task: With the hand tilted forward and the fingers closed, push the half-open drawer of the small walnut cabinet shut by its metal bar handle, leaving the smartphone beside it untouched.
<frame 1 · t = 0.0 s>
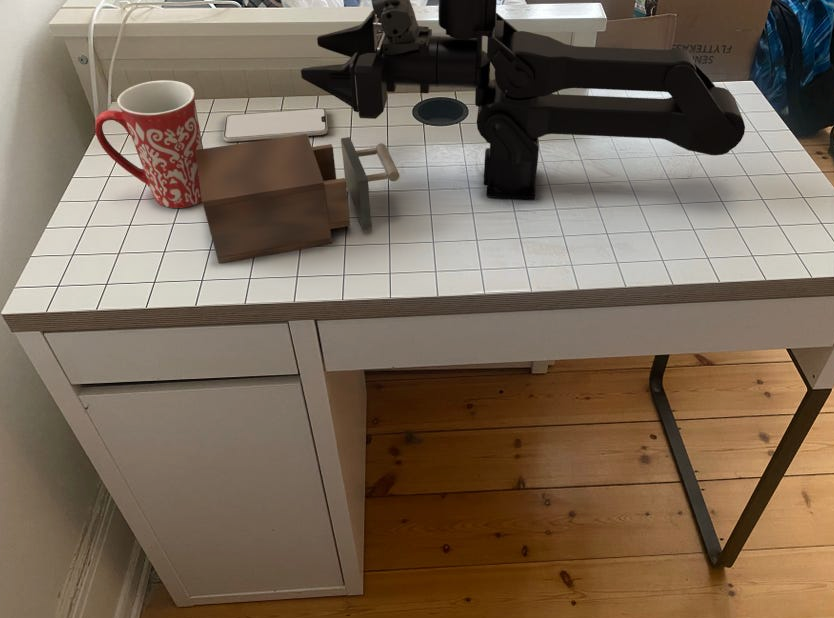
hand: (309, 56, 91), 17 cm above the table, tool horizontal, fingers open, 9 cm apart
smartphone: (276, 127, 112), on the table
drawer: (327, 186, 93), point 4 cm above the table, slide at 4.0 cm
mug: (170, 195, 99), on the table
cabinet: (269, 226, 94), on the table
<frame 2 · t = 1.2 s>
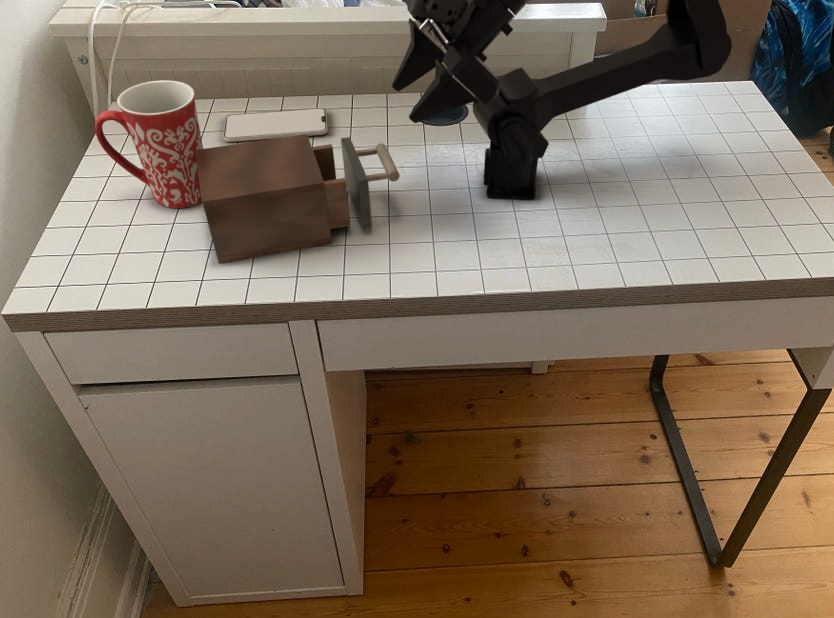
hand: (402, 104, 88), 14 cm above the table, tool tilted 45°, fingers open, 8 cm apart
nothing on the table moved.
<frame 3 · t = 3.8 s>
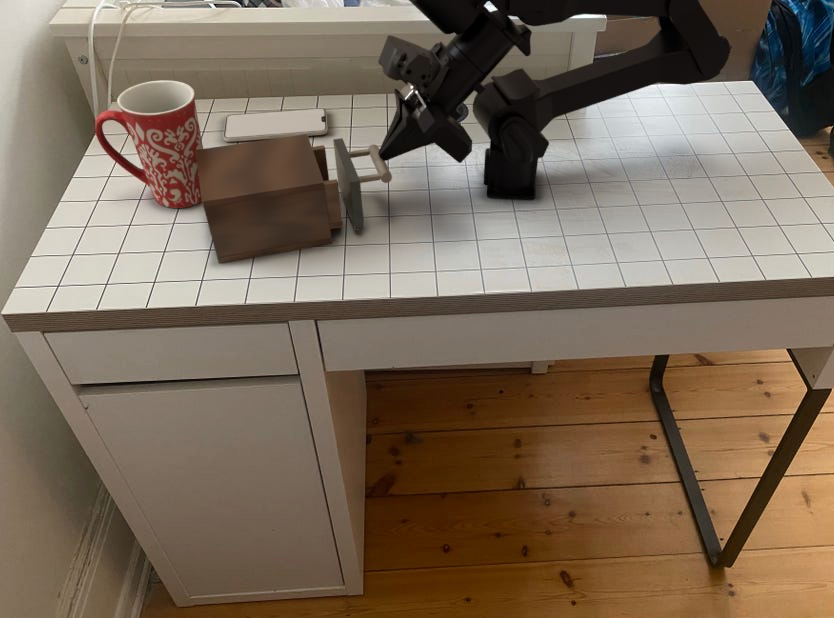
hand: (381, 157, 92), 7 cm above the table, tool tilted 45°, fingers closed, pressing on drawer
drawer: (320, 188, 93), point 4 cm above the table, slide at 3.0 cm, touching gripper
everything else where it was.
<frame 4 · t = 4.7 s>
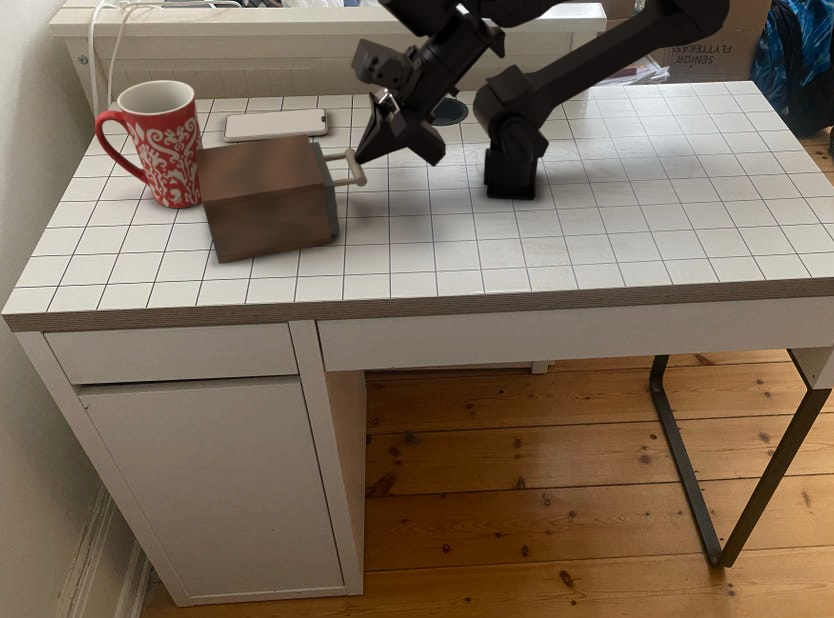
hand: (356, 161, 91), 7 cm above the table, tool tilted 45°, fingers closed, pressing on drawer
drawer: (295, 191, 92), point 4 cm above the table, slide at 0.0 cm, touching cabinet, gripper
everything else where it was.
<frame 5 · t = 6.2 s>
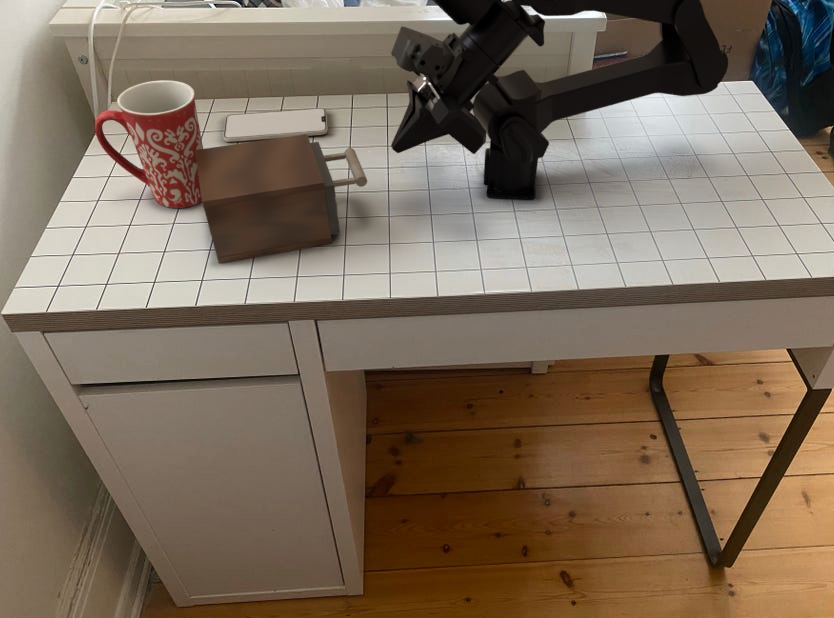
hand: (394, 149, 92), 8 cm above the table, tool tilted 45°, fingers closed
drawer: (295, 191, 92), point 4 cm above the table, slide at 0.0 cm
everything else where it was.
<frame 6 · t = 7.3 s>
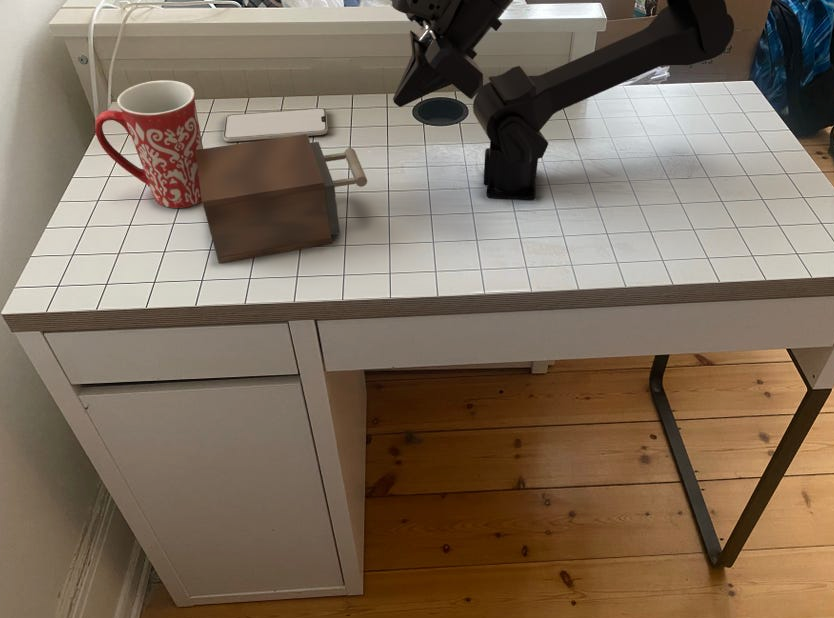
hand: (396, 103, 88), 14 cm above the table, tool tilted 40°, fingers closed
nothing on the table moved.
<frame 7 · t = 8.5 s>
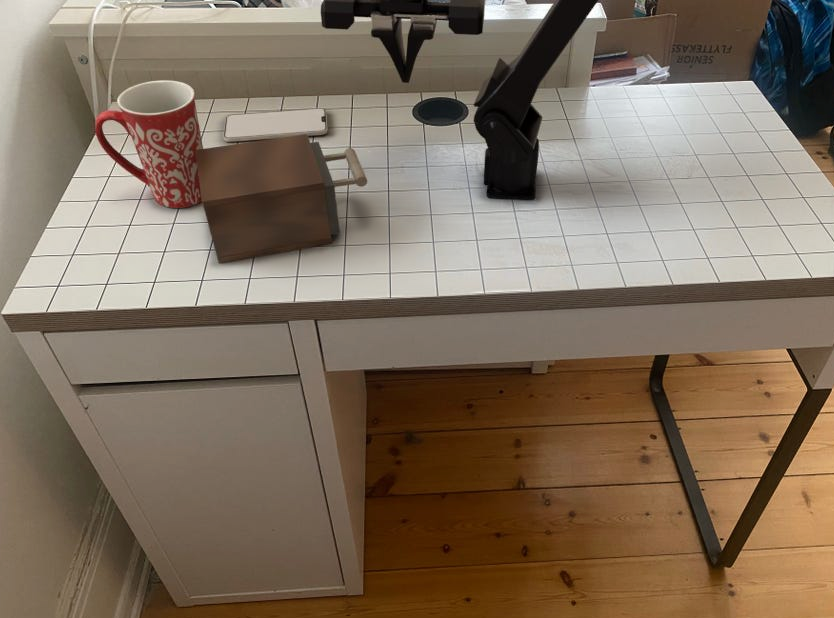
hand: (406, 81, 94), 13 cm above the table, tool pointing down, fingers closed
nothing on the table moved.
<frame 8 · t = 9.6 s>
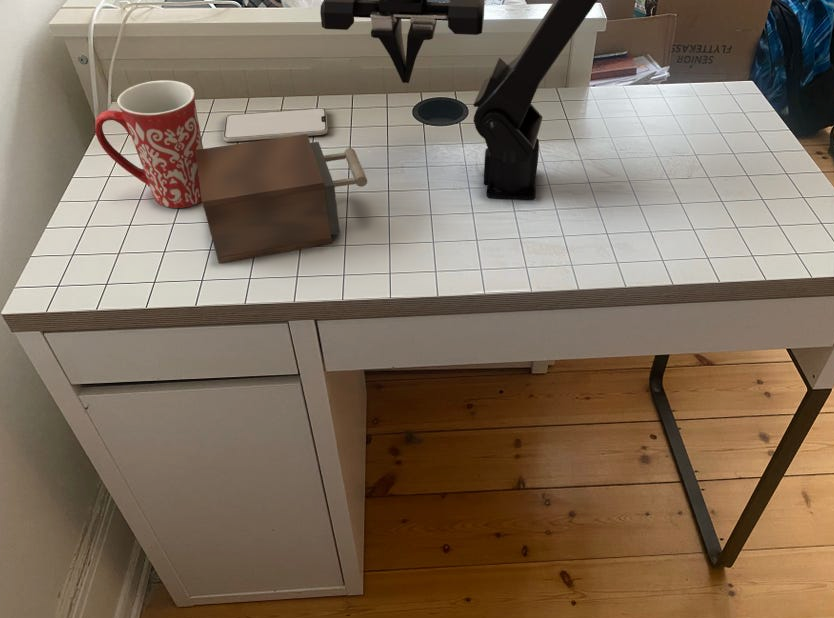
hand: (406, 81, 94), 13 cm above the table, tool pointing down, fingers closed
nothing on the table moved.
at the end: drawer slide at 0.0 cm; smartphone moved 0.0 cm from its start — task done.
